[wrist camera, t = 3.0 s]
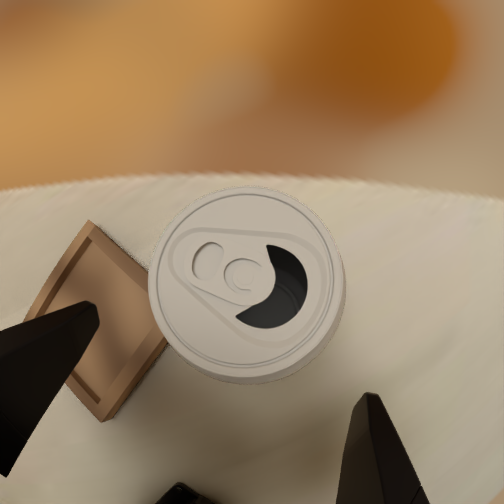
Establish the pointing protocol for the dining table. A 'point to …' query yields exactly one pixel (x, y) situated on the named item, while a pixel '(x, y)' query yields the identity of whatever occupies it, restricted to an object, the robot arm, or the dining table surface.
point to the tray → (104, 318)
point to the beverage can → (247, 285)
